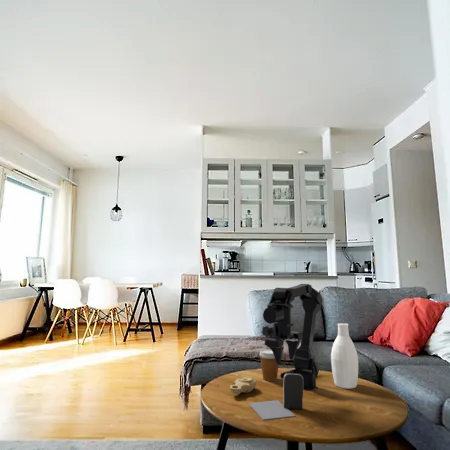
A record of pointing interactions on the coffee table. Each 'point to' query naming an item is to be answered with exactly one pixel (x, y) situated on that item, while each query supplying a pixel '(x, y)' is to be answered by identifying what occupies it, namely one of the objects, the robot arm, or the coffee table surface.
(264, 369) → the disposable coffee cup
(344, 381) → the bottle
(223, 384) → the coffee table surface
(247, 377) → the oil lamp
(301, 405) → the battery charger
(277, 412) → the mat
